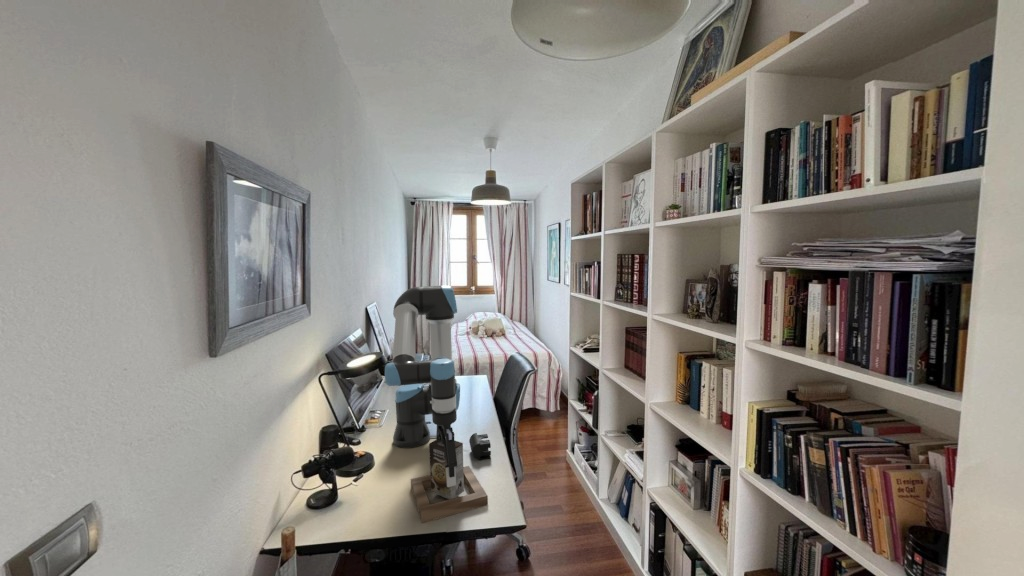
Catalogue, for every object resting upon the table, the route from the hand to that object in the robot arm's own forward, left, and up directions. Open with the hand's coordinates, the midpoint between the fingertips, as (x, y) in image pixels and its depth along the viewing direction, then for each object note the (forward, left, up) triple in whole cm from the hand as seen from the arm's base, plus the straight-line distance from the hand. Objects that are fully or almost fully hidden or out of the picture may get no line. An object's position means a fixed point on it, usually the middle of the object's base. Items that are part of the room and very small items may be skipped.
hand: (447, 476), depth 129 cm
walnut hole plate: (0, 0, -6) cm, 6 cm away
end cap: (-22, +18, -7) cm, 29 cm away
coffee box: (0, 0, -5) cm, 5 cm away
